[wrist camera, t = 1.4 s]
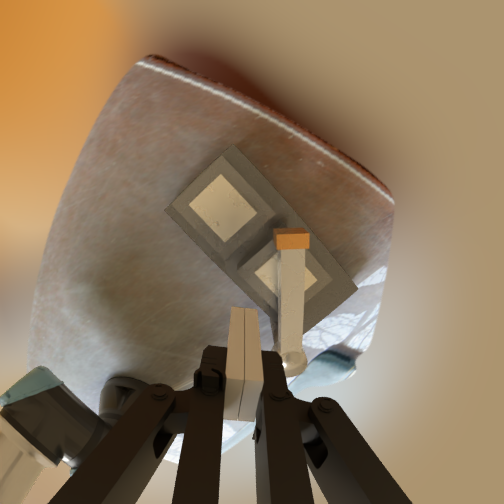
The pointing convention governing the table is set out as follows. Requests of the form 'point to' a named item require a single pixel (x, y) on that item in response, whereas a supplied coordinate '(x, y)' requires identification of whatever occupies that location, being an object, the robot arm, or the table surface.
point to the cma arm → (291, 297)
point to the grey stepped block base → (255, 237)
